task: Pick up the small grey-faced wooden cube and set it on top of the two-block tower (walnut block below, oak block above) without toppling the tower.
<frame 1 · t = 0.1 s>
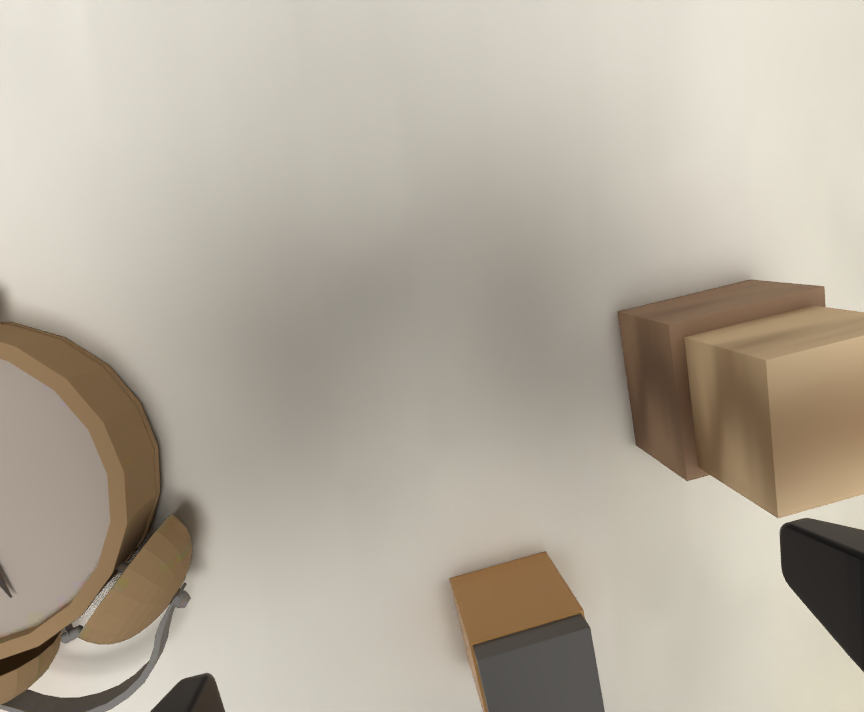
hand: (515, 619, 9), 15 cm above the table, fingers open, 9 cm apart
grey-faced wooden cube: (506, 606, 25), on the table
walnut block: (690, 362, 25), on the table, touching oak block
oak block: (754, 387, 21), point 4 cm above the table, touching walnut block
alarm clock: (37, 501, 22), on the table
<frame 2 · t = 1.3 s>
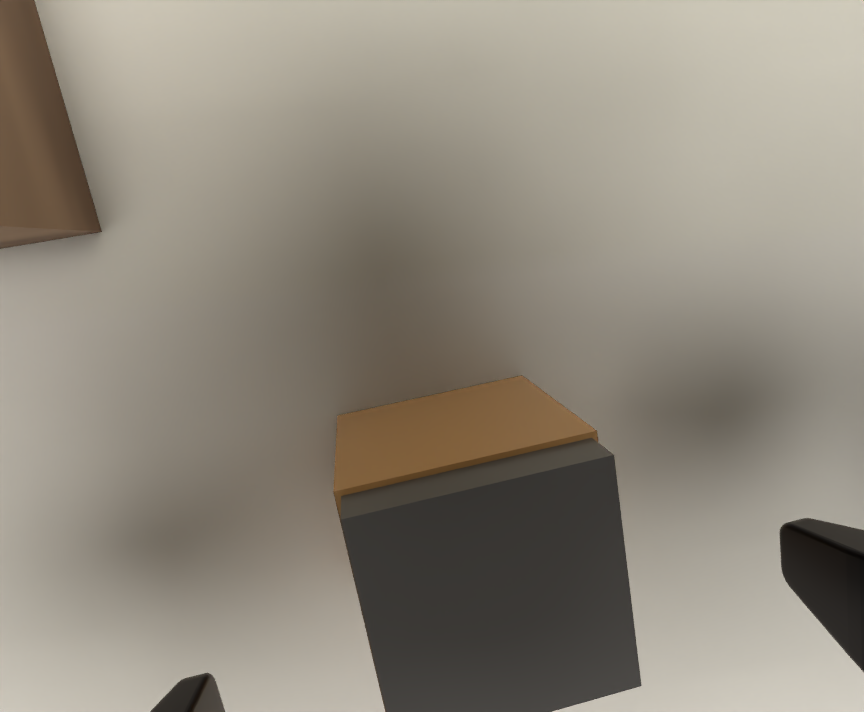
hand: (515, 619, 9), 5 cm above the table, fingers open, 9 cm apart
grey-faced wooden cube: (447, 480, 14), on the table
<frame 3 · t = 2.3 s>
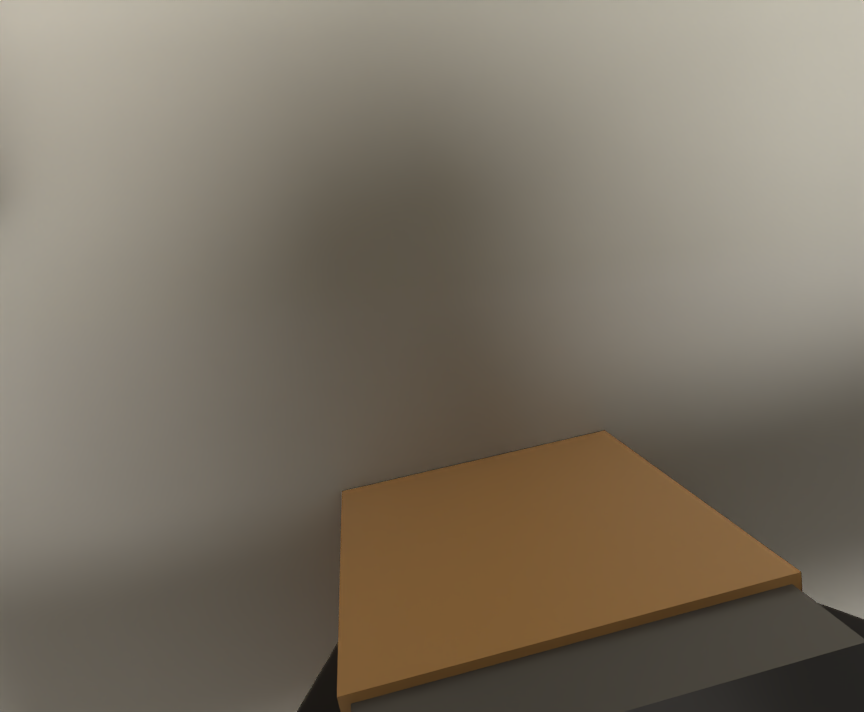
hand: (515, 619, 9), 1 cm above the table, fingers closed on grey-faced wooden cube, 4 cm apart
grey-faced wooden cube: (497, 579, 10), on the table, touching gripper
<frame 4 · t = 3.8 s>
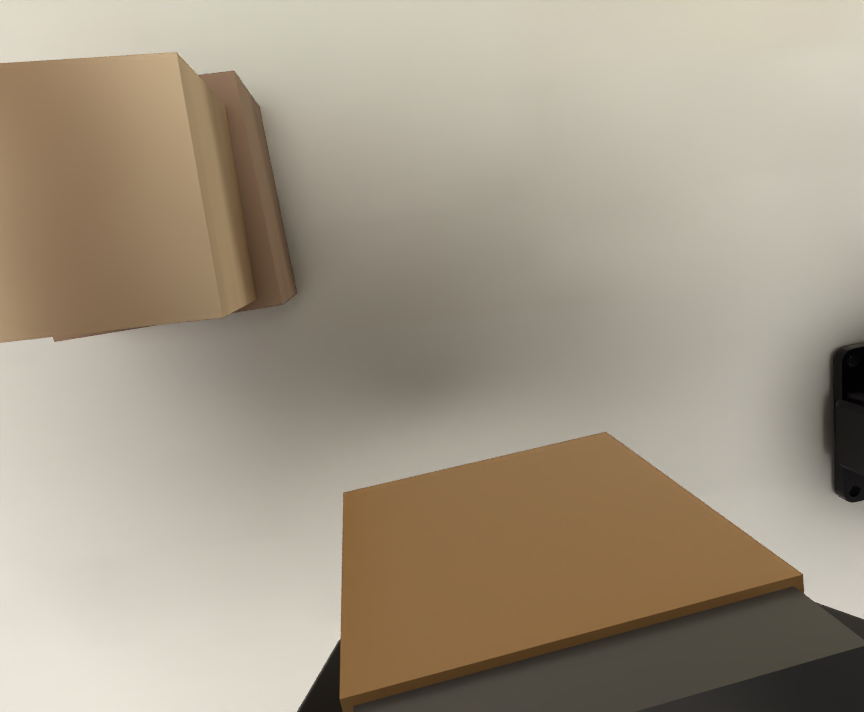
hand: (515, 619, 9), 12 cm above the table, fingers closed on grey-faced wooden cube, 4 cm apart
grey-faced wooden cube: (498, 580, 10), point 11 cm above the table, touching gripper
walnut block: (187, 216, 19), on the table, touching oak block
oak block: (142, 214, 15), point 4 cm above the table, touching walnut block
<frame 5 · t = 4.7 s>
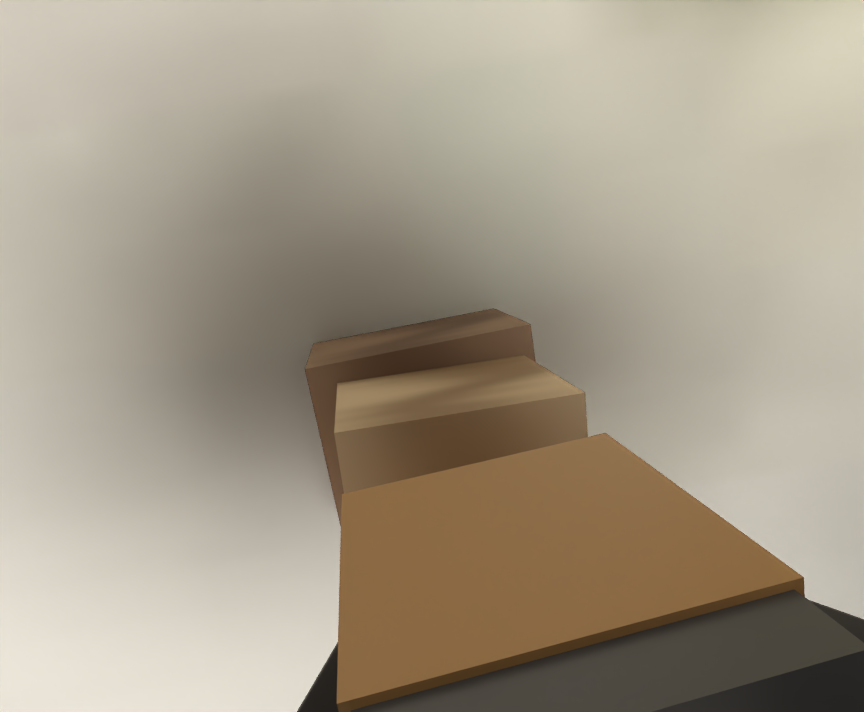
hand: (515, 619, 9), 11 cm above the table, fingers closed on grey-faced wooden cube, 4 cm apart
grey-faced wooden cube: (498, 582, 10), point 10 cm above the table, touching gripper
walnut block: (420, 411, 19), on the table
oak block: (443, 457, 15), point 4 cm above the table
when the fingers open (9 cm above the table, at t = 5.3 s): grey-faced wooden cube stays where it is, resting on oak block.
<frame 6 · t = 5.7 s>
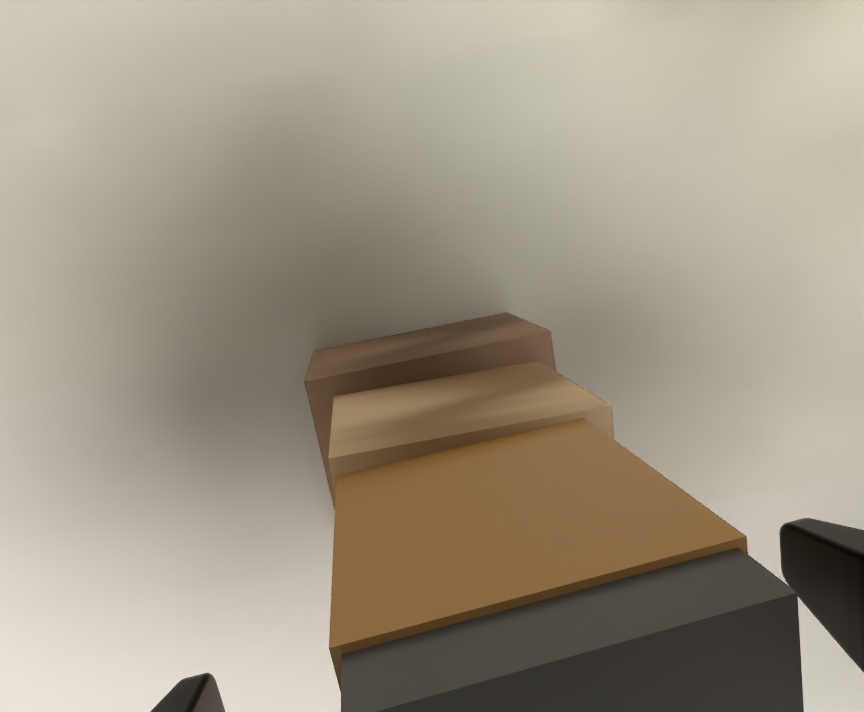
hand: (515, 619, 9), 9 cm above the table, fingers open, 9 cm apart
grey-faced wooden cube: (484, 558, 10), point 8 cm above the table, touching oak block
walnut block: (429, 422, 18), on the table, touching oak block
oak block: (451, 474, 14), point 4 cm above the table, touching grey-faced wooden cube, walnut block
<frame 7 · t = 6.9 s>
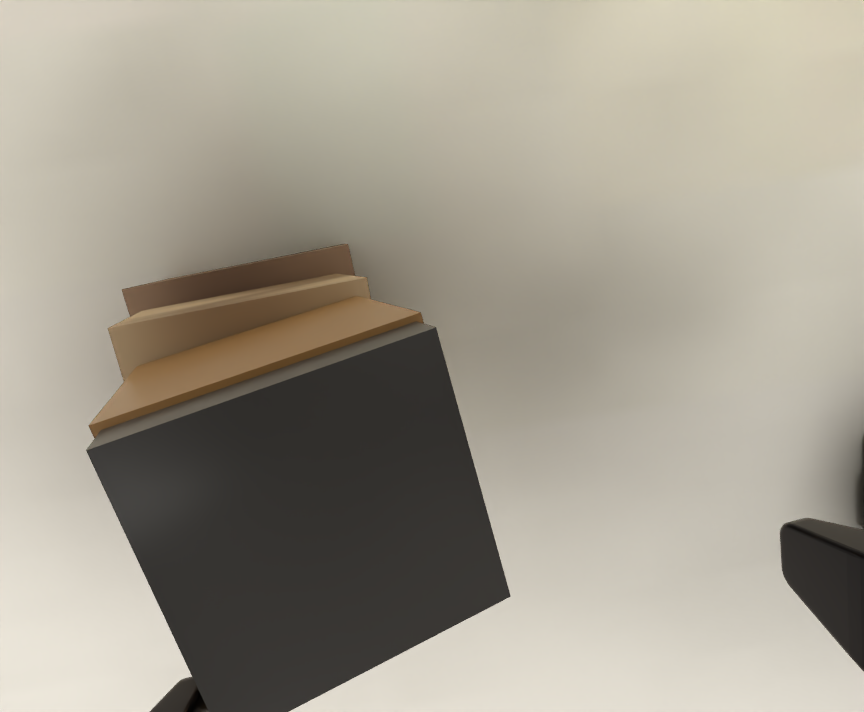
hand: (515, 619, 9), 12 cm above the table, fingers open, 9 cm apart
grey-faced wooden cube: (288, 428, 12), point 8 cm above the table, tilted 11°, touching gripper, oak block
walnut block: (279, 346, 20), on the table, touching oak block
oak block: (265, 381, 16), point 4 cm above the table, tilted 9°, touching grey-faced wooden cube, walnut block
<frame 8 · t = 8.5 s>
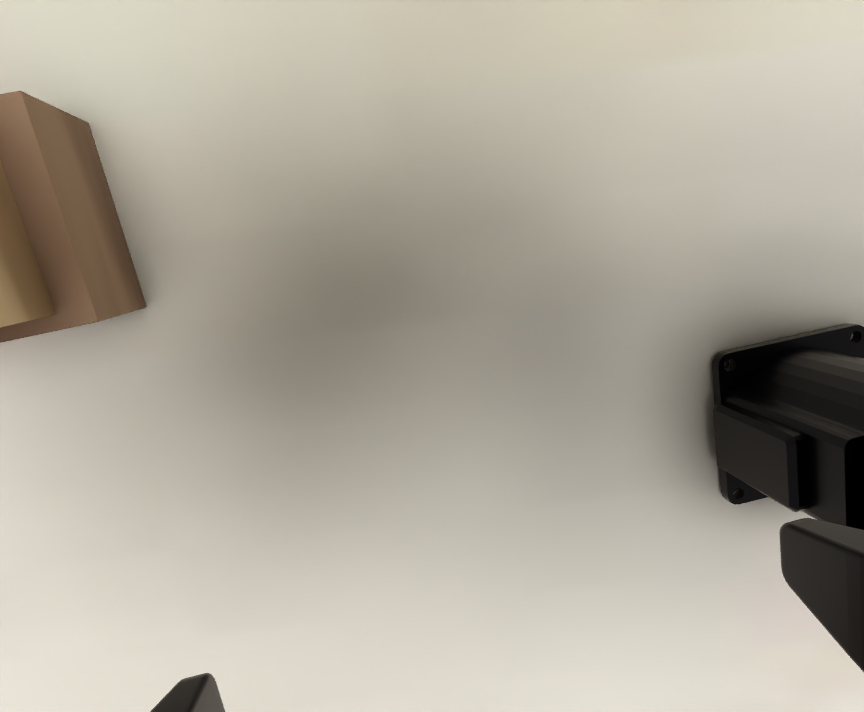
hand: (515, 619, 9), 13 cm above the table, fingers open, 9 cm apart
walnut block: (26, 236, 19), on the table, touching oak block
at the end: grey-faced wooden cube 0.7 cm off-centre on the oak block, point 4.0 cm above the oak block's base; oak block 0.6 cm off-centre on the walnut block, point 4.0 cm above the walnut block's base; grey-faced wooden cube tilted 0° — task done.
